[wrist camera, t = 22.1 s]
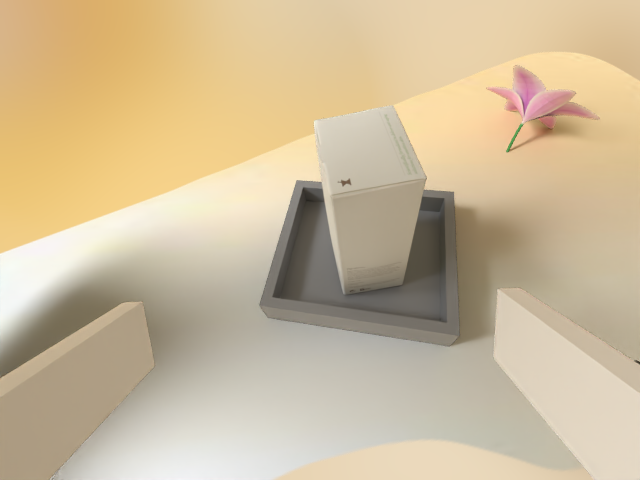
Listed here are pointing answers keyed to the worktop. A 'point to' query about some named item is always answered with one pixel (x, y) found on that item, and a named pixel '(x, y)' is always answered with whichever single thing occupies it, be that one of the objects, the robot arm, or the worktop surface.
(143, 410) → the worktop surface
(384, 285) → the skincare box
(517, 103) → the lily
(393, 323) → the tray
